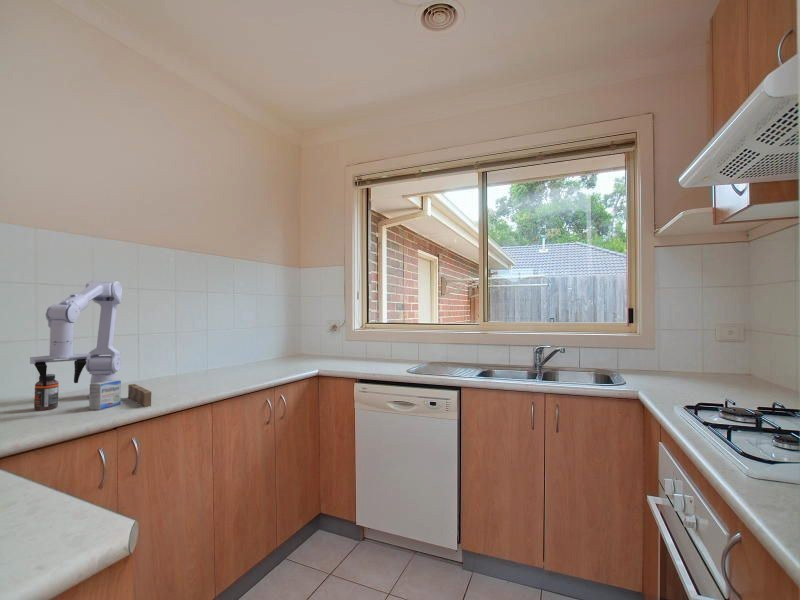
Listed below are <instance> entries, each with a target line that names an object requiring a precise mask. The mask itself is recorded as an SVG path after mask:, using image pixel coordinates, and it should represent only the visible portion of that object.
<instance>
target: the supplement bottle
mask: <svg viewBox="0 0 800 600" xmlns="http://www.w3.org/2000/svg"><path fill="white" fill-rule="evenodd" d="M46 381H47V385H46V386H44V387H43V386H42V380H41V377H40V375H39V377H38V381H37V382H36V383H35V384H34V398H33V399H34V400H33V402H34V404H33V405H34V406H33V409H34V411H49V410H53V409H54V410H55V409H56V408H58V406H59V388H60V387H59V386H60V385H59V381H58V380H57V379H56V374H54V373H46Z"/></svg>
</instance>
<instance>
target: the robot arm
mask: <svg viewBox="0 0 800 600" xmlns="http://www.w3.org/2000/svg"><path fill="white" fill-rule="evenodd" d="M122 287H123V286H122V284H121V283H120V282H119V281H116V280H115V281H101V280H99V281H98V280H95V281H94V280H89V281H88V282H86V284H85V288H84V289H83V290H82V291H81V292H79V293H71V294H70V296H68V297H67V298H65V299H64V300H62V301H60V303H58V304H52V305H50V306H49V307H48V308H47V309H46V313H45V319H46V320H47V326H48V328H50V329H49V355H42V356H41V355H40V356H30V357H29V364H31V365H34V367H35V368H36V370H37V372H38V375H39V376H40V377H41V380H42V386H43V387H44V386H46V385H47V381H46V374H47V371H48V369H47V368H48V364H47V363H57V362H59V363H60V362H61V363H62V362H72V361H74V374H73V376H74V377H73V384H78V383H79V381H80V380H79V378H80V377H81V374H82V372H83V370H84V368H85V369H86V371H87V372H88V373H89V375H90V376H91V378H90V384H93V383H99V382H104V381H109V380H116V373H117V372H118V371H119V370H120V369H121V366H122V358H121V357H122V356H121V352H120V351H119V350H118V349H116V348H115V347H114V340H115V329H116V321H117V310H118V305H119V304H121V302H122V296H123V288H122ZM90 301H93V302H94V304H97V305H99V306H100V314H99V322H98V330H97V331H98V332H97V341H96V347H95V348H94V349H92V350H90V351H89V352H88V353H74V333H75V331H74V329H75V326H74V325H75V322H76V321H78V320H79V316H80V315H81V312H82V311H84V310H85V309H87V308H88V306H89V302H90ZM86 396H87V397H88V398H89V399H90V393H89V394H86Z"/></svg>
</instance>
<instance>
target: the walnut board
mask: <svg viewBox="0 0 800 600" xmlns="http://www.w3.org/2000/svg"><path fill="white" fill-rule="evenodd" d="M127 387H128V388H127V389H128V391H127V393H128V395H127V397H128V399H129V400H131V401H133V402H134V403H136V404H137V405H139V406H142V407H143V408H148V406H150V407H152V391H150V390H148V389H146V388H144V387H142V386H140V385H138V384H136V383H130V384H128V386H127Z"/></svg>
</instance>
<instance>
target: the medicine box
mask: <svg viewBox="0 0 800 600" xmlns="http://www.w3.org/2000/svg"><path fill="white" fill-rule="evenodd" d="M121 389H122V380H120V379H115V380H109V381H104V382H99V383H93V384H91V383H90V384H89V394H90V398H89V405H88V406H89V410H93V411H94V410H96V411H102V410H106V409H109V408H113V407H117V406H120V405H121V404H122V403H121V399H122V398H121V397H122V396H121V394H122V390H121Z"/></svg>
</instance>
